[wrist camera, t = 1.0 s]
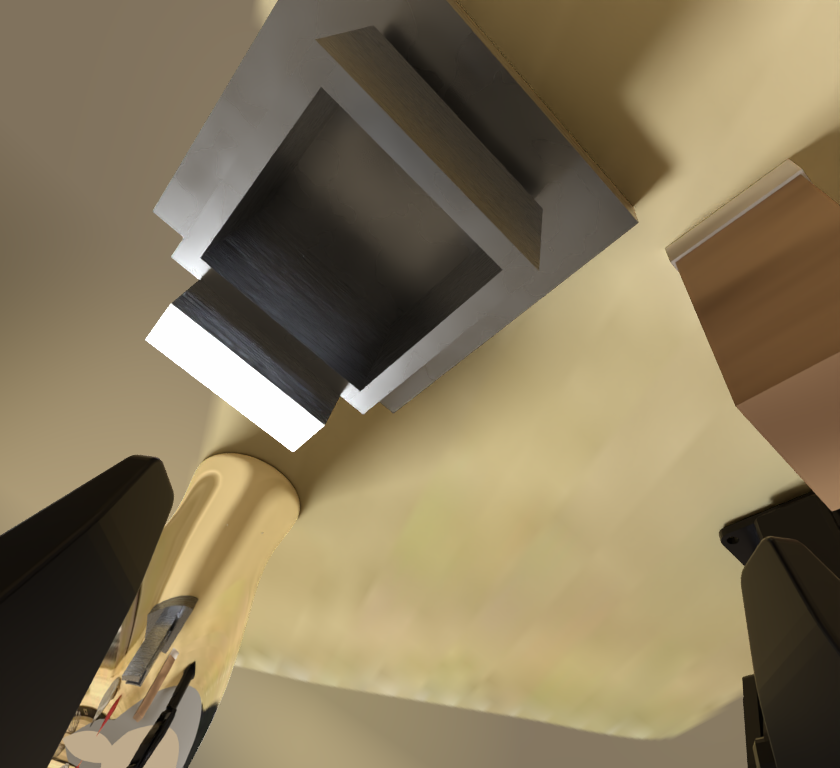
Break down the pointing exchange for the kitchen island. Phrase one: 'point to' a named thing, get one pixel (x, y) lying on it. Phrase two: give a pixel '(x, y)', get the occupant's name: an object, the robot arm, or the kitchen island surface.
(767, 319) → the brown rectangular block
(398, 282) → the bracket
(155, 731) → the beer glass
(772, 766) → the robot arm
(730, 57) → the kitchen island surface
